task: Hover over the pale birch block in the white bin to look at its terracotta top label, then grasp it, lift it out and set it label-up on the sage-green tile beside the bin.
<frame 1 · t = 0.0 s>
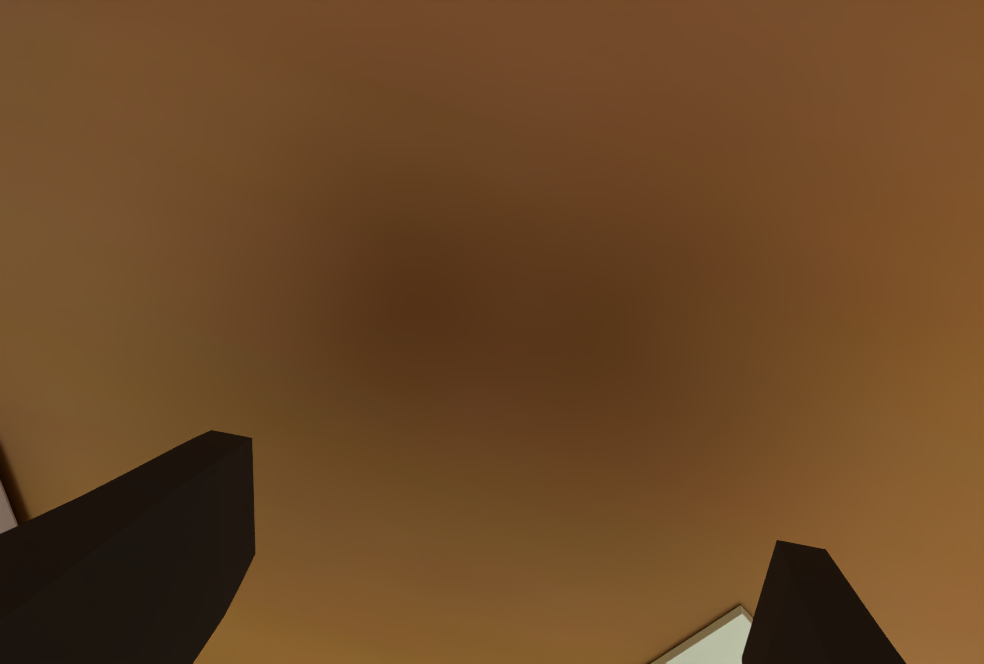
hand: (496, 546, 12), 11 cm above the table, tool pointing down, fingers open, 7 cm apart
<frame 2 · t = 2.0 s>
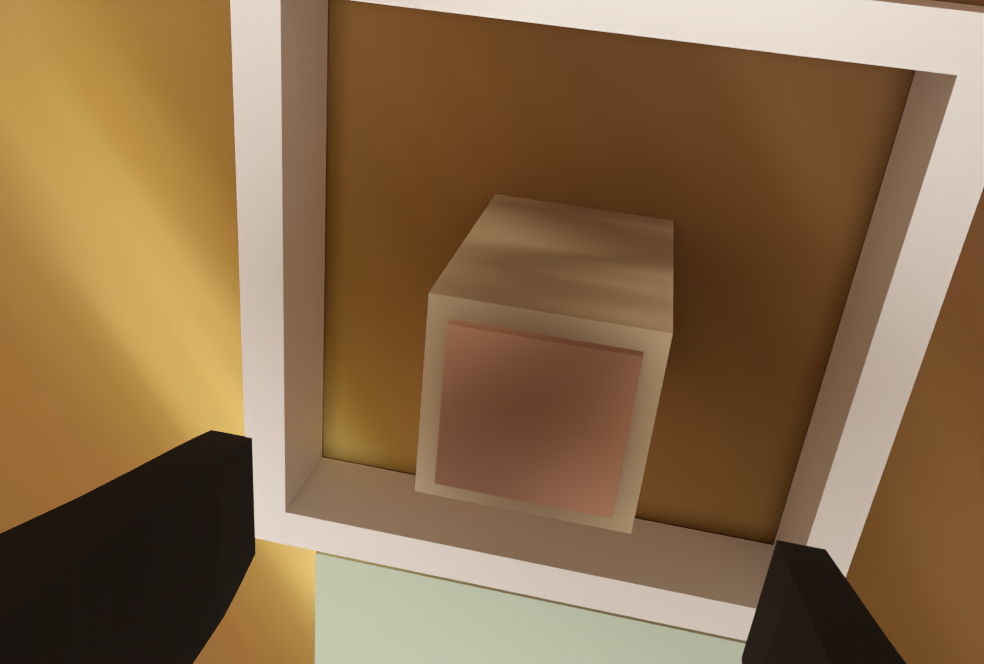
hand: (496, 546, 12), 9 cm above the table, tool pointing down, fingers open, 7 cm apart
birch block: (571, 289, 20), resting in white bin
white bin: (571, 290, 20), on the table
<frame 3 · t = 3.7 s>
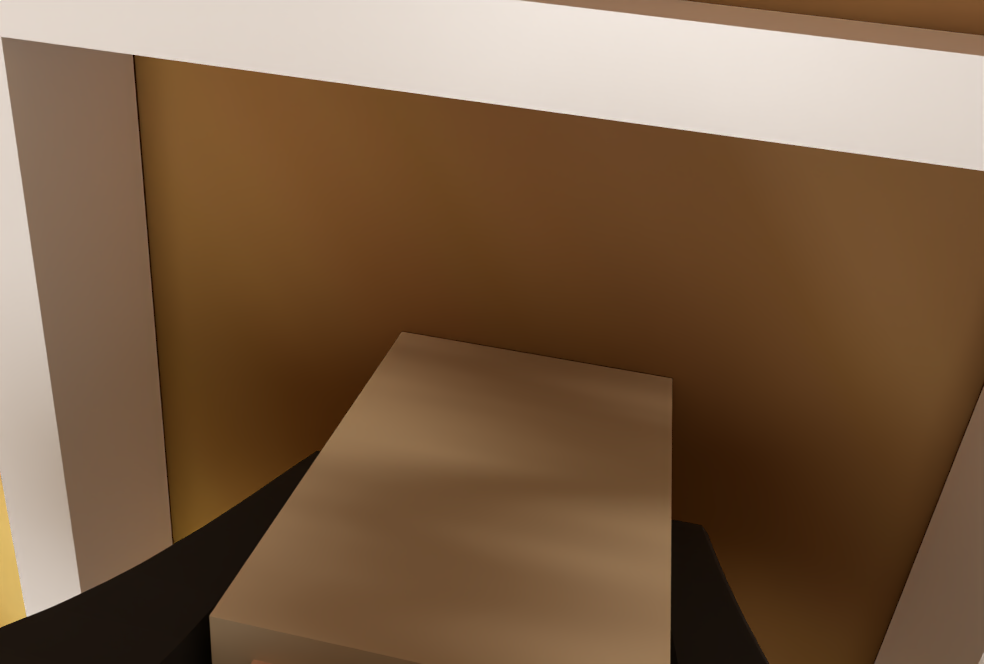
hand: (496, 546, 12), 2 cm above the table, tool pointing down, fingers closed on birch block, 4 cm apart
birch block: (519, 468, 14), resting in white bin, touching gripper
white bin: (519, 468, 14), on the table
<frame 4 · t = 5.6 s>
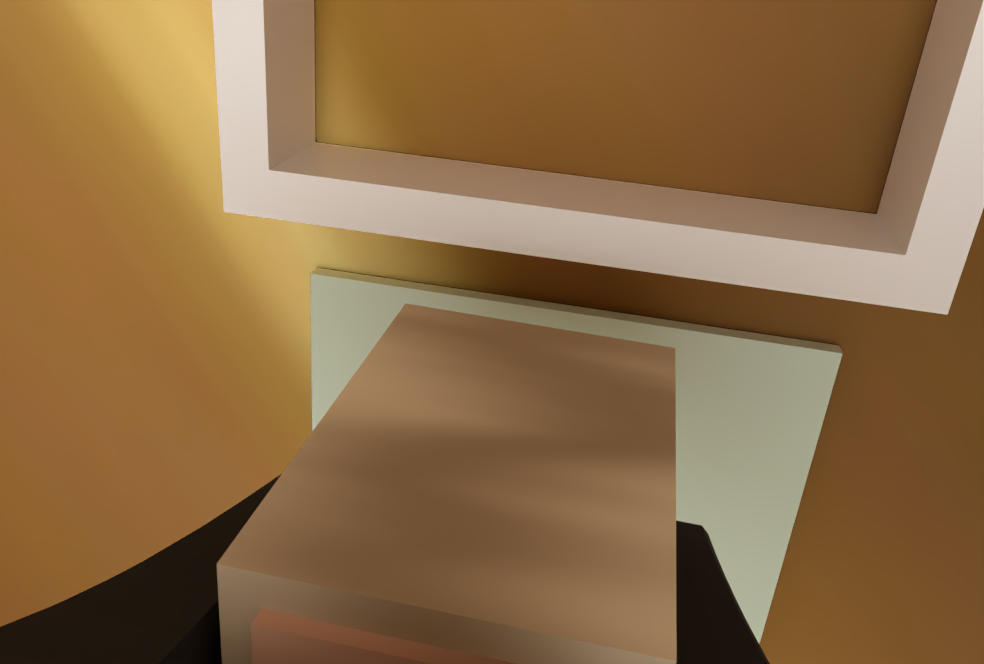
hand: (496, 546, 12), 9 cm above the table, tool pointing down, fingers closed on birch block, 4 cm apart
birch block: (522, 440, 14), point 7 cm above the table, touching gripper
sage tile: (540, 517, 22), on the table
when the fingers open (3 cm above the table, at t = 7.5 s): birch block stays where it is, resting on sage tile.
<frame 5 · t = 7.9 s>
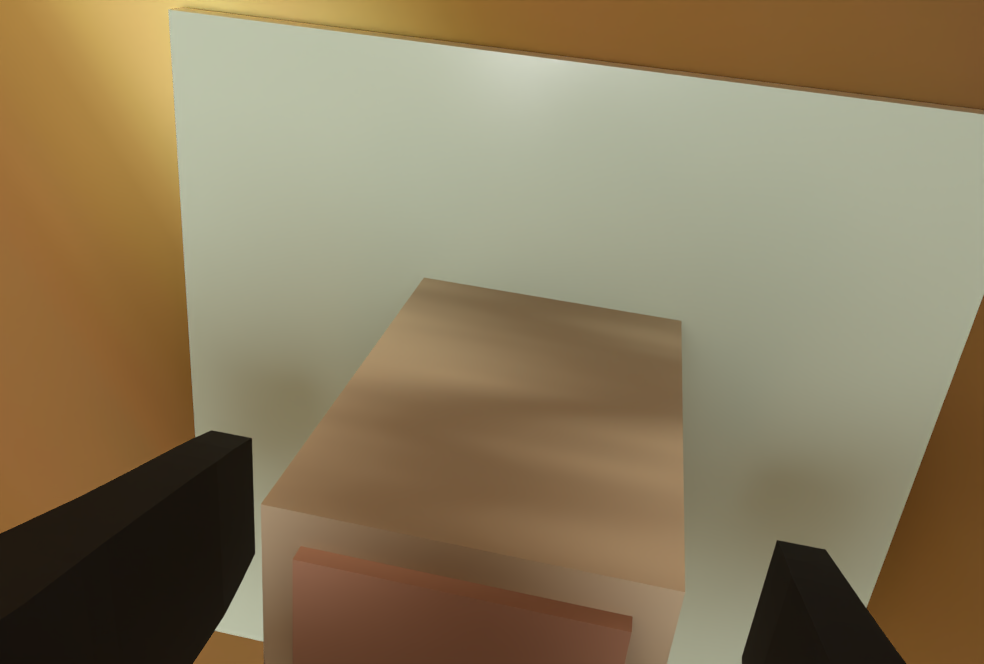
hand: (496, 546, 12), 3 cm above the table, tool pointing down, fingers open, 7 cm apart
birch block: (534, 410, 14), resting on sage tile
sage tile: (532, 423, 15), on the table
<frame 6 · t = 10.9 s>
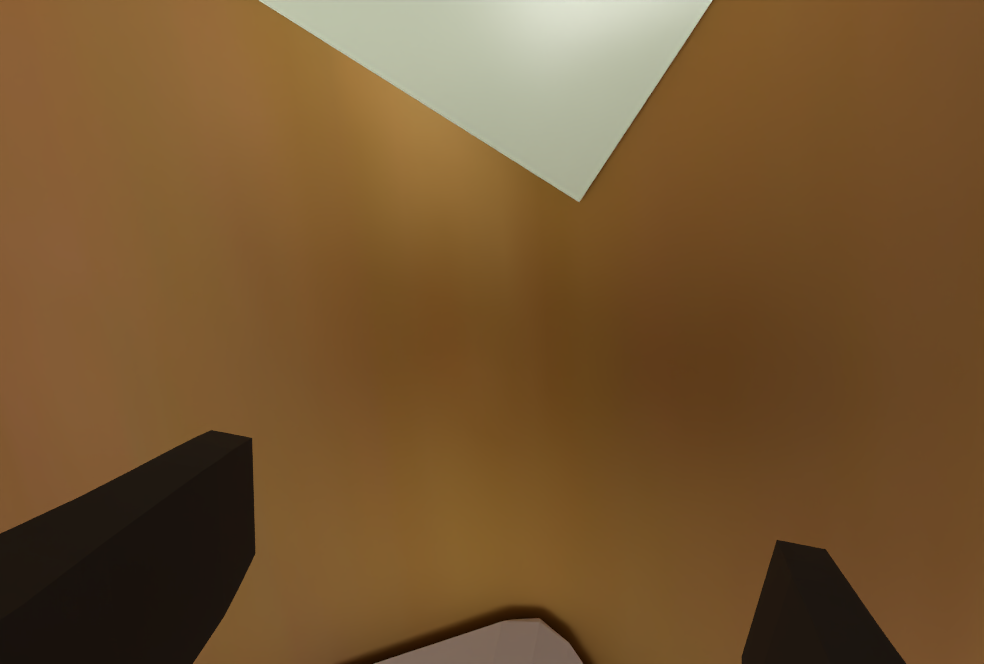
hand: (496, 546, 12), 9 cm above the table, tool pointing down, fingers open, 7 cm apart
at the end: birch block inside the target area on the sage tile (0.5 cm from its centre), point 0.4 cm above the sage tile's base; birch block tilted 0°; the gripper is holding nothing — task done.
